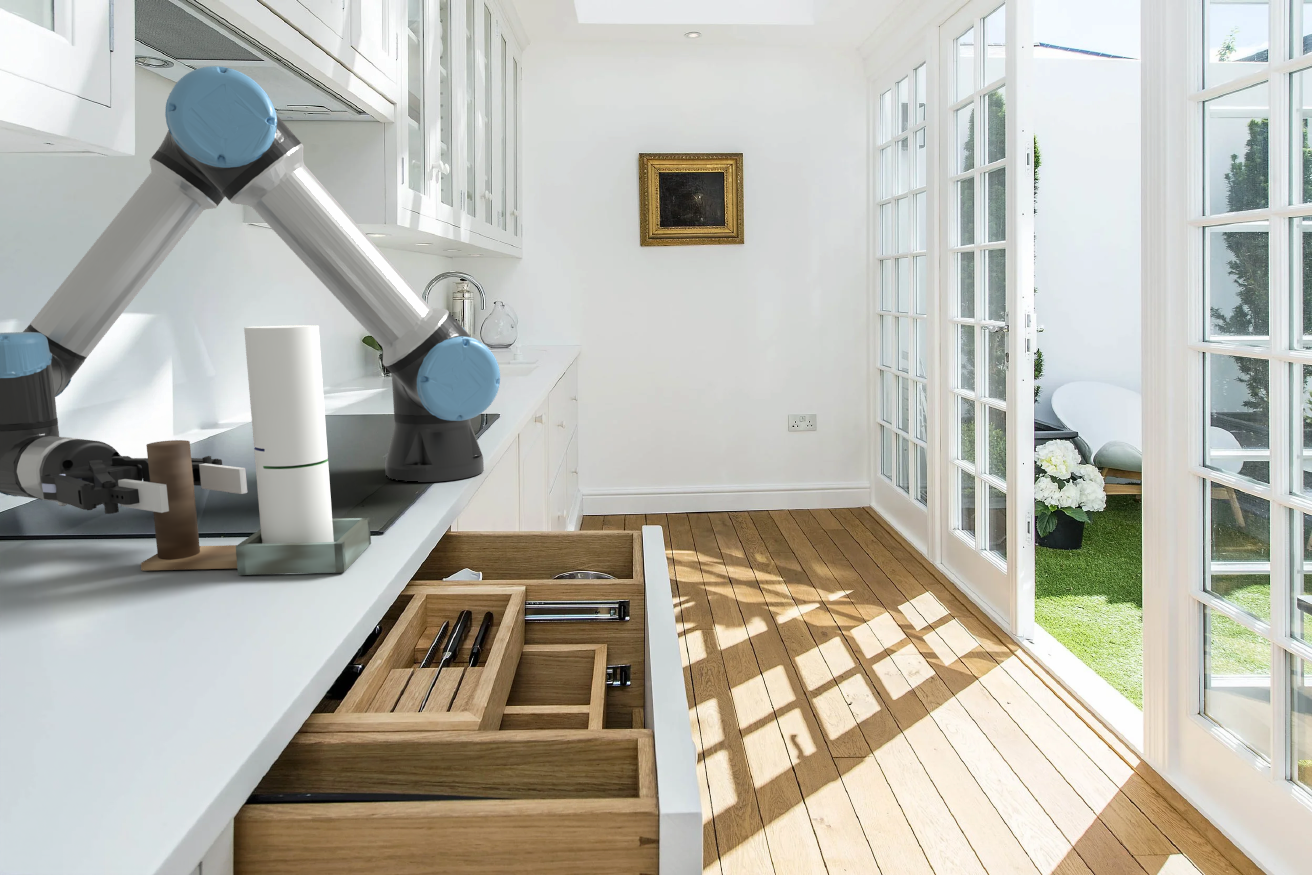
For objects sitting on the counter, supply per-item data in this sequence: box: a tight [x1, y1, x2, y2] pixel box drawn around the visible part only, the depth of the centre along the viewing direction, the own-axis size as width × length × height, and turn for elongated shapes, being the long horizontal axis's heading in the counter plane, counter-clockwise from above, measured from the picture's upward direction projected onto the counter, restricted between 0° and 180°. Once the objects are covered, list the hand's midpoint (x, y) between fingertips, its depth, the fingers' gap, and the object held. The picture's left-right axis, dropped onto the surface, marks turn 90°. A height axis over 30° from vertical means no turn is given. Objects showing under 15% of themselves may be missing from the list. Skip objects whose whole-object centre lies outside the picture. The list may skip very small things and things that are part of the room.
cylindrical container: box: [243, 324, 334, 544], centre depth 95 cm, size 7×7×25 cm
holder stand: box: [140, 439, 372, 576], centre depth 96 cm, size 21×11×13 cm, turn 93°
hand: (205, 489), depth 93 cm, fingers open, 8 cm apart
